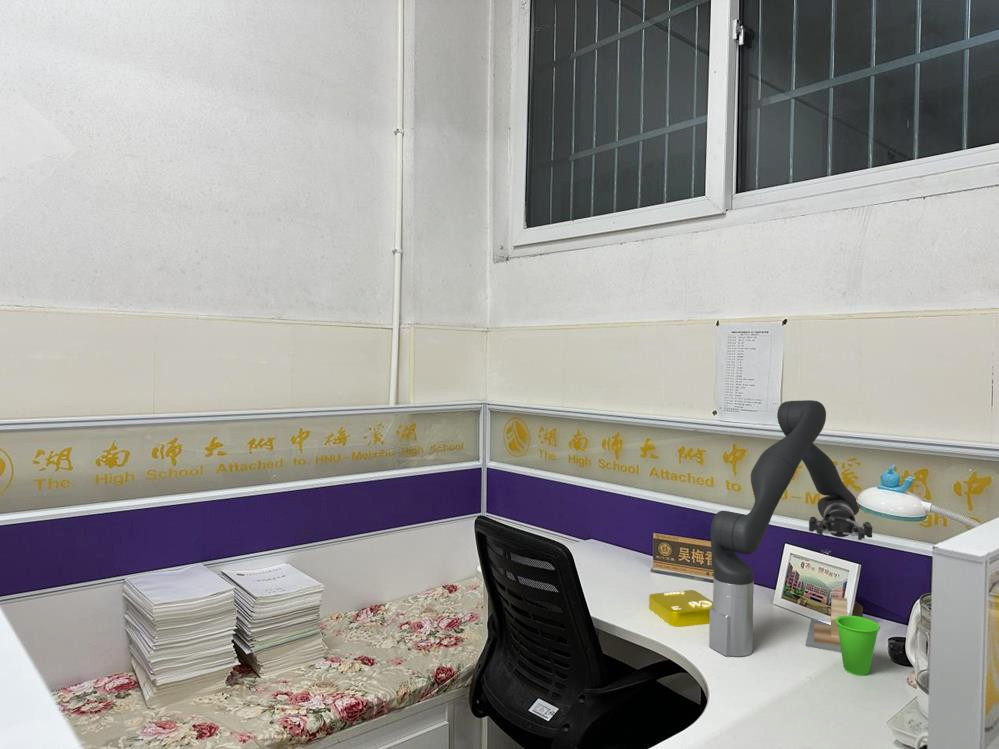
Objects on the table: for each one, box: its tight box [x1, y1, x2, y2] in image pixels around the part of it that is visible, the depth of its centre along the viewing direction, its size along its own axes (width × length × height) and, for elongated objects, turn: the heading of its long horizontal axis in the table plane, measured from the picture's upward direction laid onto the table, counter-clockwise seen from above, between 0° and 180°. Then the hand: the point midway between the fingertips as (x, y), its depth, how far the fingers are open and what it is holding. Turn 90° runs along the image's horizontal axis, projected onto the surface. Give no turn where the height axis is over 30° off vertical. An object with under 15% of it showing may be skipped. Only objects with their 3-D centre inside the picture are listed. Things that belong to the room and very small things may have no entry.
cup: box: [835, 614, 881, 677], centre depth 160 cm, size 9×9×11 cm
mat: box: [805, 618, 841, 653], centre depth 178 cm, size 18×13×1 cm
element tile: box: [648, 589, 713, 628], centre depth 193 cm, size 15×15×5 cm
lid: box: [814, 596, 848, 647], centre depth 176 cm, size 11×11×10 cm
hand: (840, 533), depth 171 cm, fingers open, 8 cm apart
